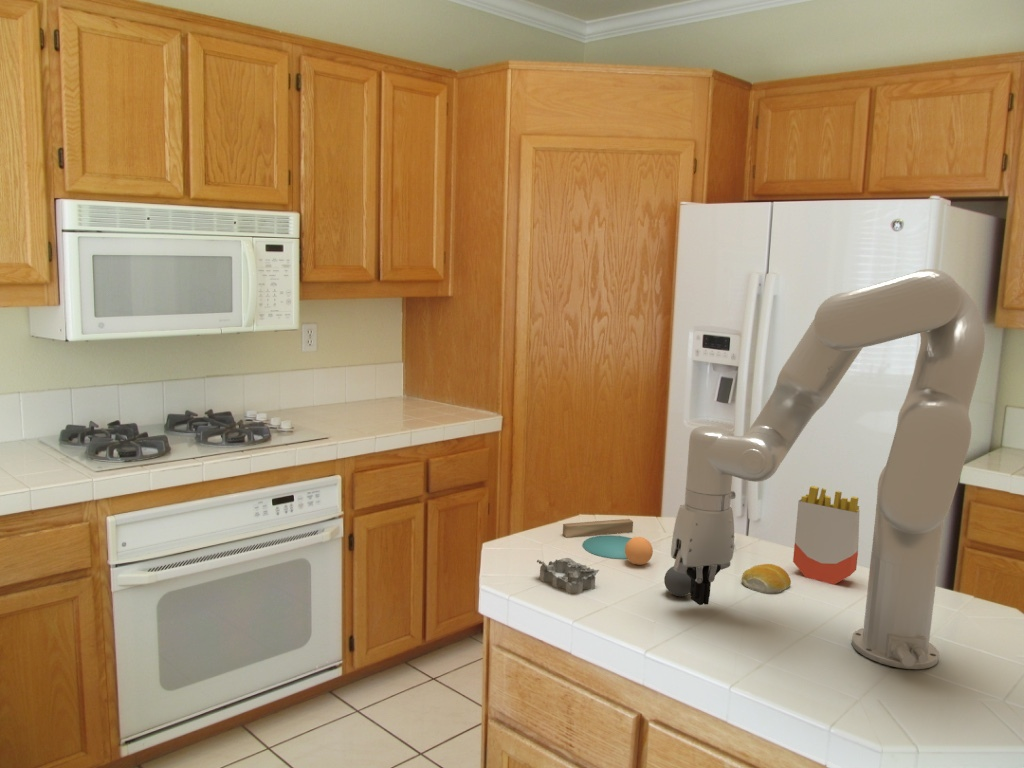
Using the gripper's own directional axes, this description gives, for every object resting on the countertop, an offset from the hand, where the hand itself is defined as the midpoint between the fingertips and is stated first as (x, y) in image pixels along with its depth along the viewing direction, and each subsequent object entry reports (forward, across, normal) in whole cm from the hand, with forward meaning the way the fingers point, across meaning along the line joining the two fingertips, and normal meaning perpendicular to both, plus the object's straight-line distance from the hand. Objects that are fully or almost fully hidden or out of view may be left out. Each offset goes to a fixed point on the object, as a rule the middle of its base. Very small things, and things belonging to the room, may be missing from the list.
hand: (699, 601), depth 146 cm
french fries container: (+2, -33, -7) cm, 34 cm away
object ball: (-1, -1, -23) cm, 23 cm away
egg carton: (+2, +17, -18) cm, 25 cm away
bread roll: (+2, -19, -7) cm, 21 cm away
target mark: (+2, -1, -33) cm, 33 cm away
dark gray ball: (-1, 0, -7) cm, 7 cm away
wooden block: (+2, -1, -42) cm, 42 cm away
